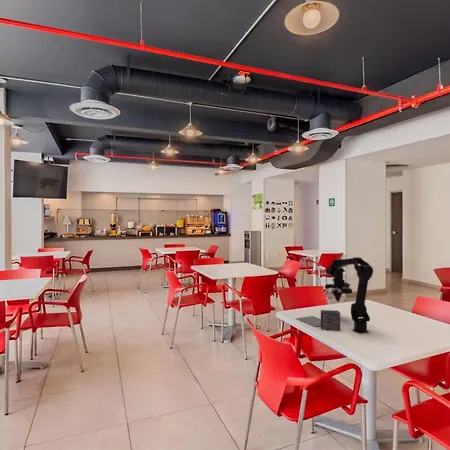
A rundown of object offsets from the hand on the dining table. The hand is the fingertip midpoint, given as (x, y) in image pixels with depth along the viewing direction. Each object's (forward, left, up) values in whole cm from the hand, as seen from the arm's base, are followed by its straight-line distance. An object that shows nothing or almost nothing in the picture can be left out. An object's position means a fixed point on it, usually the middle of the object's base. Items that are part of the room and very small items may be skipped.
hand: (337, 301), depth 215 cm
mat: (+3, +17, -12) cm, 21 cm away
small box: (-11, +17, -12) cm, 24 cm away
